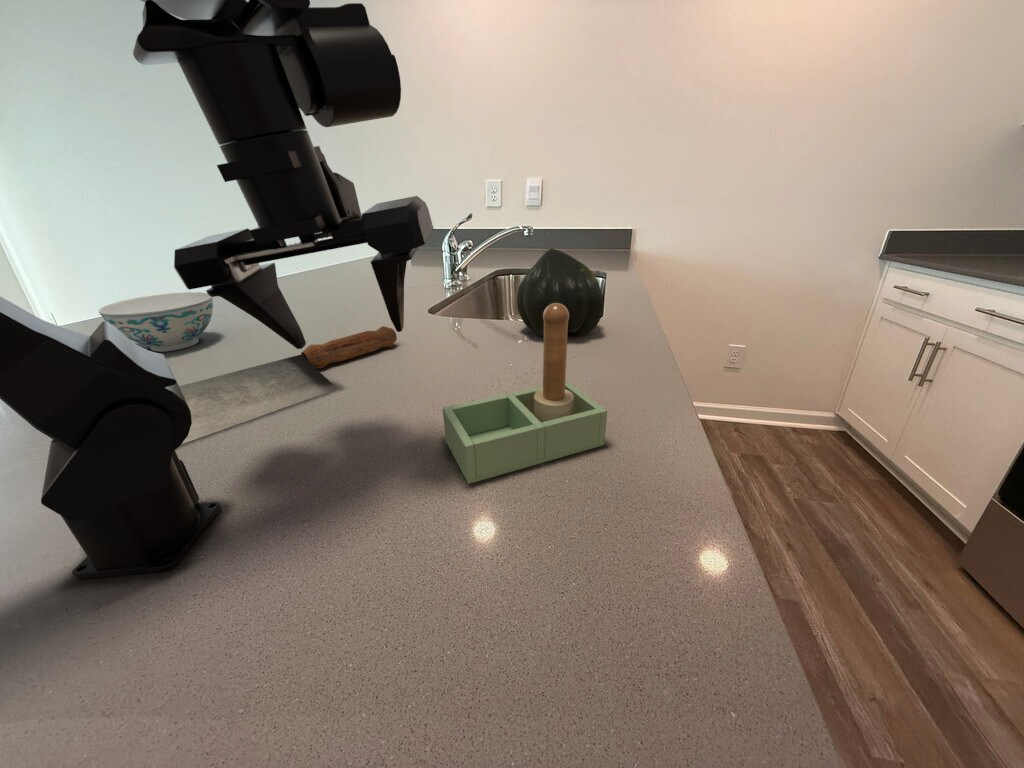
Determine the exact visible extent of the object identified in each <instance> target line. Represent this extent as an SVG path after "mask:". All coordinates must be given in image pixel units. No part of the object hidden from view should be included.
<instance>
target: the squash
mask: <svg viewBox="0 0 1024 768" xmlns="http://www.w3.org/2000/svg"><path fill="white" fill-rule="evenodd" d="M552 303H560V304H562V305H564V306H565V307H566V308H567V310H568V312H569V320H568V330H567V332H570V333H572V334H574V335H578V336H579V335H585V334H588V333H590V332H592V331H593V330H594V329H595V328H596V327H597V326H598V324H599V322H600V320H601V319H602V313H603V310H604V299H603V292H602V290H601V287H600V283H599V281H598V278H597V277H596V275H595V274H594V273H593V271H592V270H591V268H589V267H588V266H587V265H586V264H584V263H582V262H581V261H579V260H577V259H576V258H575V257H573V256H572V255H569V254H568V253H565V252H564V251H562V250H559V249H554V248H549V249H548V250H547V251H545V252H544V253H543V254H542V255H541V256H540V257H539V259H538V260H537V261H536V262H535V263H534V265H533V266H532V267H531V268H530V269H529V270H528V271H527V273H526V274H525V275H524V277H523V278H522V280H521V282H520V283H519V286H518V288H517V292H516V307H517V311H518V314H519V316H520V319H521V320H522V322H523V324H524V325H525V326H526V327H527V329H529V330H530V331H532V332H534V333H536V334H538V335H539V336H542V337H544V320H543V312H544V310H545V308H546V307H547V306H548V305H550V304H552Z"/></svg>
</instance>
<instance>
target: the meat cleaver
mask: <svg viewBox="0 0 1024 768" xmlns="http://www.w3.org/2000/svg"><path fill="white" fill-rule="evenodd" d="M397 340H398V337H397V333H396V330H395V329H393V328H392V327H388V326H384V325H383V326H380V327H378V329H376V330H364V331H361V332H358V333H354V334H351V335H347V336H343V337H339V338H335V339H331V340H329V341H326V342H324V343H322V344H320V343H319V344H316V343H315V344H309V345H308V346H307V347H306V348H305V349H304V350H302V351H301V353H300V354H297V355H293V356H289V357H286V358H281V359H278V360H274V361H270V362H267V363H262V364H259V365H255V366H251V367H247V368H243V369H239V370H236V371H232V372H229V373H225V374H220V375H217V376H213V377H209V378H204V379H202V380H198V381H193V382H190V383H186V384H183V385H182V384H181V385H179V387H180V389H181V391H182V394H183V396H184V398H185V400H186V402H187V404H188V406H189V409H190V411H191V420H192V424H191V428H190V431H189V434H188V436H187V437H186V439H185V440H184V441H183V443H182V444H181V445H183V444H186V443H188V442H191V441H194V440H197V439H200V438H202V437H206V436H208V435H211V434H214V433H217V432H220V431H222V430H226V429H227V428H228V429H229V428H230V427H234V426H237V425H239V424H242V423H245V422H247V421H250V420H254V419H256V418H259V417H261V416H264V415H267V414H270V413H273V412H275V411H278V410H281V409H284V408H286V407H289V406H293V405H295V404H298V403H301V402H303V401H306V400H309V399H313V398H315V397H317V396H321V395H323V394H326V393H329V392H332V391H335V390H337V389H338V387H336V386H335V384H333V383H332V382H331V381H330V380H329V379H328V378H327V377H326V376H325V375H324V374H323V373H322V372H320V371H319V370H320V369H323V368H324V367H326V366H328V365H329V364H335V363H336V364H337V363H340V362H344V361H347V360H350V359H354V358H357V357H360V356H363V355H366V354H371V353H374V352H376V351H378V350H380V349H381V348H388V349H389V348H391V347H392V346H393V345H394V344H395V343H396V342H397Z"/></svg>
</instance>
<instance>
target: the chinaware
mask: <svg viewBox="0 0 1024 768" xmlns="http://www.w3.org/2000/svg"><path fill="white" fill-rule="evenodd" d="M213 311H214V299H213V297H210V296H209V295H208V293H207V292H203V291H181V292H169V293H160V294H152V295H146V296H139V297H134V298H128V299H124V300H120V301H115V302H113V303H109V304H107V305H104V306H102V307H100V308H99V309H98V313H99V315H100V316H101V318H102V319H103V321H107V322H109V323H110V324H112V325H113V326H114V327H115V328H117V329H118V330H119V331H120V332H121V333H123V334H124V335H125V336H126V337H127V338H128V339H130V340H131V341H132V342H134V343H136V344H137V343H138V344H141V345H144V346H149V348H150V351H152V352H157V353H160V352H161V353H163V352H172V351H177V350H181V349H182V350H183V349H185V348H190V347H192V346H194V345H196V344H197V343H199V336H200V335H202V333H203V332H204V331H205V330H206V329H207V327H208V326H209V324H210V322H211V319H212V316H213Z"/></svg>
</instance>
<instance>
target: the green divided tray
mask: <svg viewBox="0 0 1024 768" xmlns="http://www.w3.org/2000/svg"><path fill="white" fill-rule="evenodd" d="M540 389H543V385H542V386H538V387H533V388H527V389H523V390H519V391H515V392H512V393H511V392H510V393H506V394H501V395H496V396H490V397H487V398H482V399H476V400H472V401H468V402H463V403H459V404H453V405H450V406H445V407H442V417H443V427H444V435H445V436H444V437H445V442H446V444H447V446H448V448H449V450H450V452H451V454H452V456H453V457H454V460H455V461H456V463H457V465H458V467H459V469H460V471H461V472H462V475H463V477H464V478H465V480H466V482H467V484H468V485H471V484H475V483H478V482H481V481H484V480H487V479H492V478H494V477H498V476H501V475H505V474H509V473H512V472H515V471H520V470H522V469H526V468H529V467H533V466H537V465H540V464H543V463H547V462H550V461H554V460H557V459H561V458H564V457H567V456H571V455H575V454H578V453H582V452H585V451H588V450H589V451H590V450H591V449H595V448H598V447H602V446H605V441H606V429H607V420H608V419H607V418H608V410H607V409H606V408H604V407H603V406H601V405H600V404H599V403H597V401H595V400H594V399H592V398H591V397H589V396H588V395H587V394H585V393H584V392H583V391H582V390H580V389H579V388H577V387H576V386H575V385H574V384H572V383H570V382H569V381H568V380H567V381H566V380H565V389H566V390H568V391H570V392H571V393H572V394H573V395H574V404H573V415H570V416H566V417H561V418H557V419H553V420H549V421H545V422H542V423H541V422H540V421H539V420H538V419H537V418H536V417H535V416H534V394H535V393H536V392H537V391H538V390H540Z"/></svg>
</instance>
